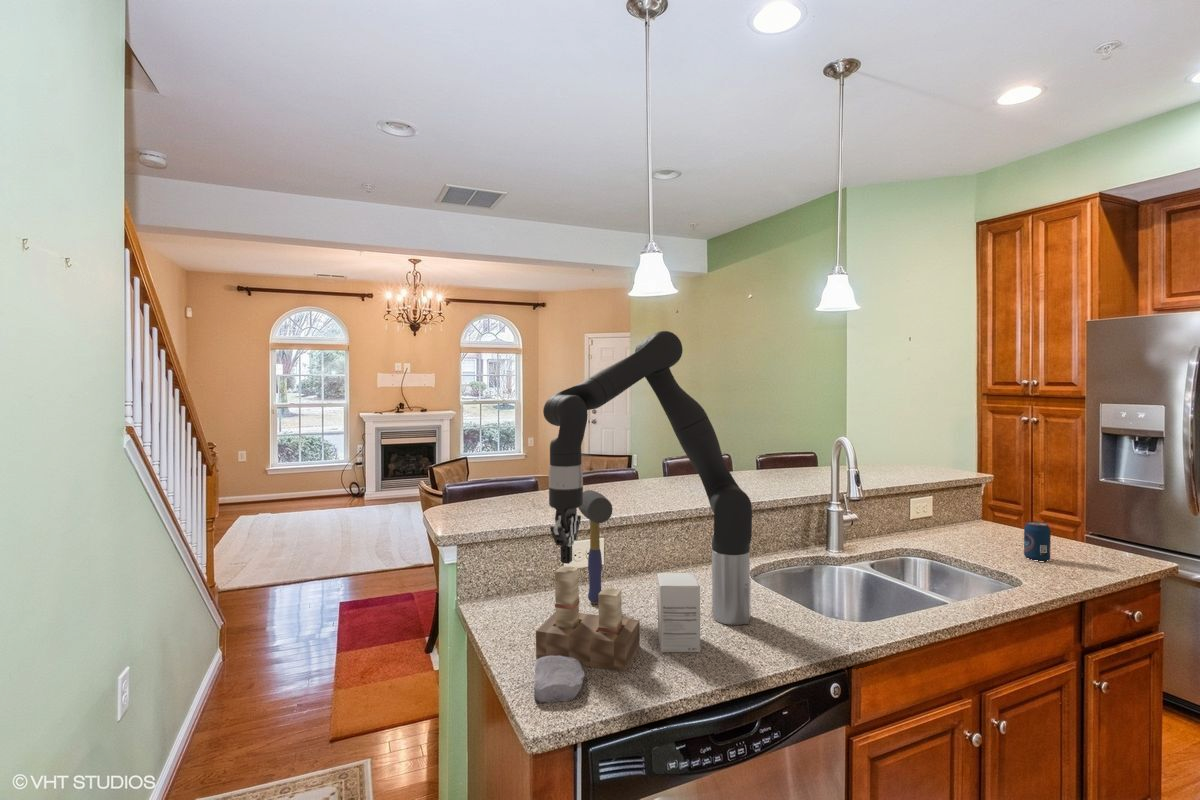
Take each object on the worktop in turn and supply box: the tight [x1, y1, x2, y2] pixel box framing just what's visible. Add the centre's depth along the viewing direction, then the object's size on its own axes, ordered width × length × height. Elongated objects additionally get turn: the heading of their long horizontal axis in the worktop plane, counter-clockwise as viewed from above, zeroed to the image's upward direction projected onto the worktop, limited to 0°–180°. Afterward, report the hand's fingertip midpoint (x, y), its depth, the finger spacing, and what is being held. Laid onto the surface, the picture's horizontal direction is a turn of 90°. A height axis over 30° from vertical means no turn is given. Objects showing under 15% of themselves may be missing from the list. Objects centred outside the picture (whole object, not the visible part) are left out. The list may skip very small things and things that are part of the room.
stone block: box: [533, 655, 585, 704], centre depth 114 cm, size 12×5×10 cm
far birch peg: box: [554, 565, 580, 629], centre depth 129 cm, size 4×4×13 cm
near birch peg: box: [597, 587, 623, 635], centre depth 126 cm, size 4×4×13 cm
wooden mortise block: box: [535, 611, 641, 673], centre depth 128 cm, size 20×12×6 cm, turn 72°
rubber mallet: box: [578, 489, 613, 605], centre depth 156 cm, size 12×8×30 cm, turn 16°
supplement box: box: [656, 572, 701, 653], centre depth 131 cm, size 9×9×15 cm
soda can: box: [1023, 520, 1052, 562], centre depth 190 cm, size 7×7×12 cm
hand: (566, 562), depth 129 cm, fingers closed
